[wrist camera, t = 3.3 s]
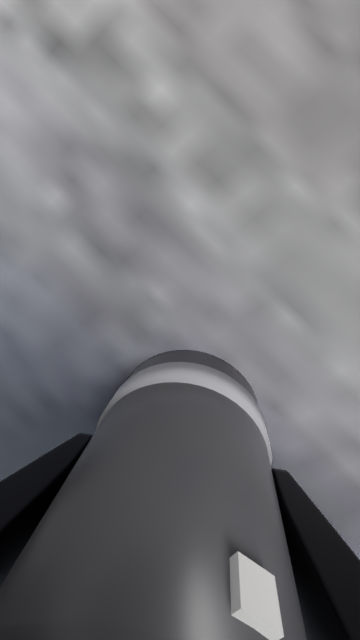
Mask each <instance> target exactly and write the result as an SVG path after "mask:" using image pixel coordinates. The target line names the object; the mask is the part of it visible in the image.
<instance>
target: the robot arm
mask: <svg viewBox="0 0 360 640" xmlns="http://www.w3.org/2000/svg"><path fill="white" fill-rule="evenodd" d="M92 436H93V435H89V434H84V433H80V434H77V435H76V436H74V437H72V438H71V439H69V440H68V441H66V442H64V443H63V444H61V445H59V446H58V447H56V448H54V449H53V450H51V451H50V452H48V453H46V454H45V455H43V456H41V457H40V458H38V459H36V460H35V461H33V462H32V463H30V464H28V465H27V466H25V467H23V468H22V469H20V470H19V471H17V472H15V473H14V474H12V475H10V476H9V477H7V478H5V479H4V480H2V481H1V482H0V586H1V584H2V583H3V581H4V580H5V578H6V576H7V575H8V573H9V571H10V570H11V568H12V567H13V565H14V563H15V562H16V560H17V558H18V557H19V555H20V553H21V552H22V550H23V549H24V547H25V545H26V544H27V542H28V540H29V539H30V537H31V536H32V534H33V532H34V531H35V529H36V527H37V526H38V524H39V523H40V521H41V519H42V518H43V516H44V514H45V513H46V511H47V510H48V508H49V506H50V505H51V503H52V501H53V500H54V498H55V497H56V495H57V493H58V492H59V490H60V488H61V487H62V485H63V483H64V482H65V480H66V479H67V477H68V475H69V474H70V472H71V470H72V469H73V467H74V466H75V464H76V462H77V461H78V459H79V457H80V456H81V454H82V453H83V451H84V449H85V448H86V446H87V444H88V443H89V441H90V440H91V438H92ZM271 470H272V475H273V479H274V484H275V489H276V494H277V498H278V503H279V508H280V513H281V517H282V522H283V527H284V532H285V537H286V541H287V546H288V551H289V556H290V560H291V565H292V570H293V575H294V579H295V584H296V589H297V594H298V598H299V603H300V608H301V613H302V617H303V622H304V627H305V632H306V637H307V640H360V560H359V558H358V557H357V556H356V555H355V553H354V552H353V551H352V550H351V549H350V547H349V546H348V545H347V544H346V542H345V541H344V540H343V539H342V538H341V536H340V535H339V534H338V533H337V531H336V530H335V529H334V528H333V526H332V525H331V524H330V523H329V522H328V520H327V519H326V518H325V517H324V515H323V514H322V513H321V512H320V510H319V509H318V508H317V507H316V506H315V504H314V503H313V502H312V501H311V499H310V498H309V497H308V496H307V494H306V493H305V492H304V491H303V490H302V488H301V487H300V486H299V485H298V483H297V482H296V481H295V480H294V478H293V477H292V476H291V475H290V474H289V472H287V471H286V470H281V469H275V468H273V469H271Z"/></svg>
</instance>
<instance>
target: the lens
mask: <svg viewBox="0 0 360 640" xmlns="http://www.w3.org/2000/svg"><path fill="white" fill-rule="evenodd" d="M271 469H272V452H271V446H270V442H269V437H268V433H267V429H266V424H265V421H264V418H263V415H262V412H261V410H260V408H259V406H258V403H257V400H256V397H255V394H254V392H253V390H252V388H251V386H250V385H249V383H248V382H247V380H246V379H245V378H244V377H243V376H242V374H241V373H240V372H239V371H238V370H236V369H235V368H234V367H233V366H231V365H230V364H228V363H227V362H225V361H224V360H222V359H220V358H218V357H215V356H213V355H210V354H207V353H203V352H198V351H190V350H176V351H170V352H165V353H162V354H158V355H156V356H154V357H152V358H150V359H148V360H146V361H145V362H143V363H142V364H141V365H139V366H138V367H137V368H136V369H135V370H134V371H133V372H132V374H131V375H130V376H129V378H128V379H127V380H126V381H125V382H124V383H123V384H122V385H121V386H120V387H119V388H118V390H117V391H116V393H115V394H114V396H113V397H112V399H111V401H110V402H109V404H108V405H107V407H106V408H105V410H104V412H103V413H102V415H101V416H100V419H99V421H98V423H97V426H96V429H95V433H94V435H93V436H92V438H91V440H90V441H89V443H88V444H87V446H86V448H85V449H84V451H83V453H82V454H81V456H80V457H79V459H78V461H77V462H76V464H75V466H74V467H73V469H72V470H71V472H70V474H69V475H68V477H67V479H66V480H65V482H64V483H63V485H62V487H61V488H60V490H59V492H58V493H57V495H56V497H55V498H54V500H53V501H52V503H51V505H50V506H49V508H48V510H47V511H46V513H45V514H44V516H43V518H42V519H41V521H40V523H39V524H38V526H37V527H36V529H35V531H34V532H33V534H32V536H31V537H30V539H29V540H28V542H27V544H26V545H25V547H24V549H23V550H22V552H21V553H20V555H19V557H18V558H17V560H16V562H15V563H14V565H13V567H12V568H11V570H10V571H9V573H8V575H7V576H6V578H5V580H4V581H3V583H2V584H1V586H0V640H307V637H306V632H305V627H304V622H303V617H302V613H301V608H300V603H299V598H298V594H297V589H296V584H295V579H294V575H293V570H292V565H291V560H290V556H289V551H288V546H287V541H286V537H285V532H284V527H283V522H282V517H281V513H280V508H279V503H278V498H277V494H276V489H275V484H274V479H273V475H272V470H271Z"/></svg>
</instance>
